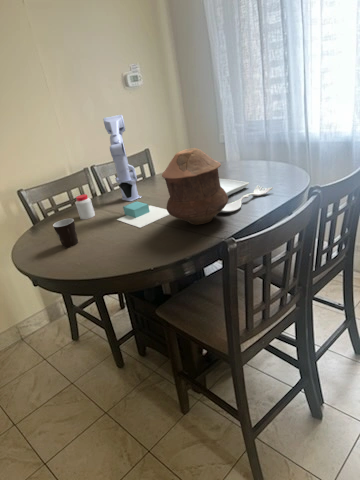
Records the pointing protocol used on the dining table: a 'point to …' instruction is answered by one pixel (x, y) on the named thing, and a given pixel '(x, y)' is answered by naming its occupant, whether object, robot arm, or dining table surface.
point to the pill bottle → (84, 207)
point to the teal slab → (136, 209)
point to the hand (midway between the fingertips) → (129, 197)
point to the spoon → (237, 204)
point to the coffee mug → (66, 232)
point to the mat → (145, 217)
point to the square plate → (232, 185)
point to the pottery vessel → (194, 187)
